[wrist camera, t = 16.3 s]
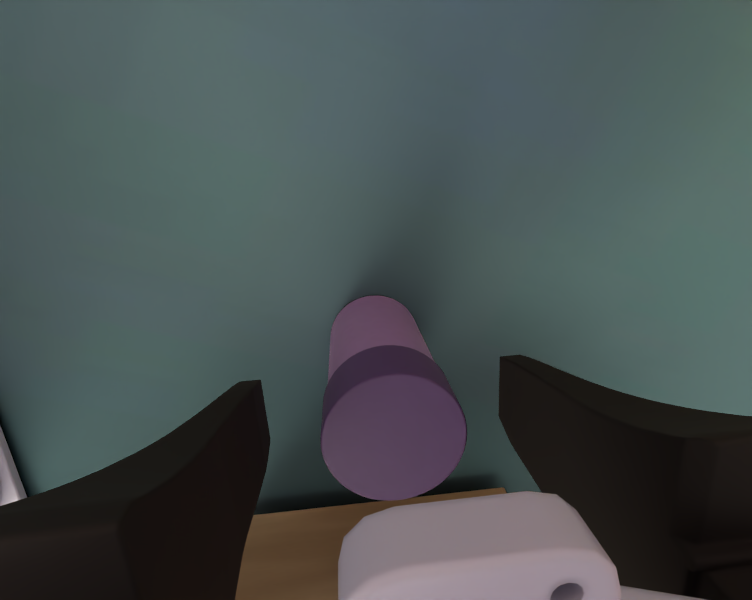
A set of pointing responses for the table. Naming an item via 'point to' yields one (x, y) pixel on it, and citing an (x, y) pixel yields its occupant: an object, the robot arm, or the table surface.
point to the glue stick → (387, 405)
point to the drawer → (309, 548)
